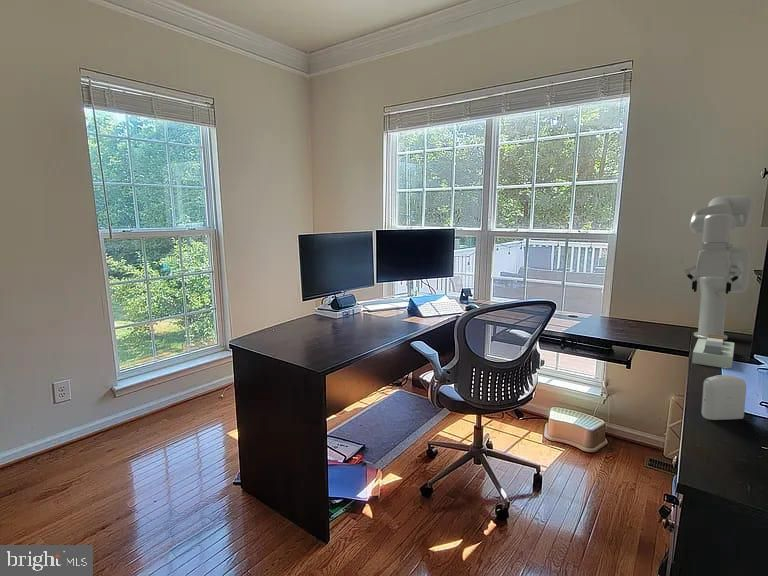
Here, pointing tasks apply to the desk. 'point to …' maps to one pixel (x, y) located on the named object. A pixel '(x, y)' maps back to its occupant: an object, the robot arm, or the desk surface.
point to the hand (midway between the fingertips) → (710, 292)
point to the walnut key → (716, 336)
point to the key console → (713, 355)
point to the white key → (715, 341)
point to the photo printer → (723, 397)
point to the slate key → (713, 348)
